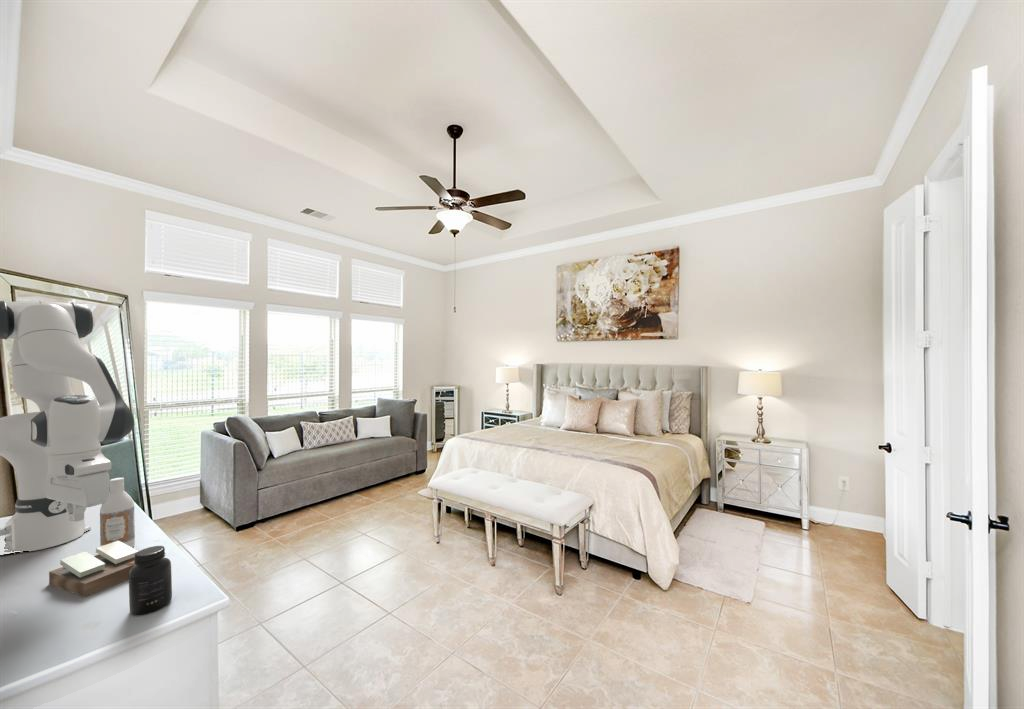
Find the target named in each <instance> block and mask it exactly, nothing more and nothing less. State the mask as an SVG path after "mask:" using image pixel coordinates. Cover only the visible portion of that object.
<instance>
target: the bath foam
mask: <svg viewBox="0 0 1024 709" xmlns="http://www.w3.org/2000/svg"><path fill="white" fill-rule="evenodd" d="M100 505H101V506H100V510H99V534H100V538H99V539H100V541H99V543H100V546H103V545H106V544H109V543H112V542H115V541H120V542H122V543H124V544H126V545H128V546H130V547H131V548H134V546H135V545H136V543H135V542H136V537H135V536H136V534H135V531H136V530H135V528H136V526H135V502H134V499H133V497H132V496H131V495H130V494H129V493H128V492H127V491H125V477H115V478H111V479H109V496H108V499H107V501H106V503H104V504H100Z"/></svg>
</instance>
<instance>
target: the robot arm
mask: <svg viewBox="0 0 1024 709" xmlns="http://www.w3.org/2000/svg"><path fill="white" fill-rule="evenodd" d="M95 324H96V318H95V316H94V313H93V311H92V309H91V308H90V307H89V306H87V305H85V304H83V303H82V304H81V303H77V302H76V303H75V302H70V303H68V302H60V301H50V300H39V301H38V300H37V301H32V300H28V301H27V300H25V301H24V300H23V301H22V300H21V301H5V300H0V340H8V339H12V340H13V341H12V347H11V359H10V361H11V374H12V384H13V390H14V392H15V394H16V395H17V396H19V397H20V398H23V399H27V400H30V401H32V402H33V403H35V405H36V406H37V408H38V409H39V411H35V412H24V413H15V414H11V415H5V416H2V417H0V456H1V457H2V458H4V459H5V460H7V462H8V463H10V465H11V466H12V467H13V469H14V471H15V474H16V479H17V488H18V490H17V491H18V498H17V499H16V502H15V504H14V514H13V515H12V516H11V517H10V518H9V519H8V521H6V522H5V524H4V525H5V526H3V527H0V537H3V536H4V537H5V538H4V537H3V538H4V541H5V543H6V544H5V547H4V549H8V550H5V551H4V552H11V551H12V552H14V551H22V552H21V553H24V552H23V551H29V552H33V551H40V550H45V549H49V548H52V547H53V548H54V547H56V546H59V545H62V544H65V543H68V542H71V541H74V540H76V539H79V537H82V536H83V535H84V534H85V533H87V532H88V530H89V531H91V530H92V527H91V525H86V520H85V512H86V509H87V508H91V507H96V506H100V505H102V504H104V503H106V501H107V499H108V496H109V493H110V474H109V472H108V471H110V470H112V461H111V460H109V459H108V458H107V457H106V456H105V455H104V454H103V452H102V445H101V442H102V443H103V442H104V443H105V442H106V443H107V442H116V441H117V442H118V441H120V440H122V439H124V438H125V437H126V436H128V435H129V434H130V433H131V432H132V431H133V430H134V427H135V418H134V414H133V412H132V411H131V408H130V407H129V405H127V403H126V402H125V400H124V399H123V397H122V395H121V393H120V391H119V389H118V388H117V385H116V383H115V382H114V381H115V380H114V379H113V377H112V375H111V374H110V372H109V370H108V368H107V366H106V364H105V362H104V361H103V360H102V359H101V357H100V356H98V355H95V354H94V353H91V352H89V350H88V349H86V347H84V345H83V344H82V343H81V342H80V339H82V338H85V337H88V335H90V334H91V333H92V332H93V329H94V327H95ZM70 378H73V379H77V380H79V381H81V382H84V383H86V384H87V385H88V386H89V387H90V389H91V391H92V392H93V393H92V394H94V396H91V395H85V394H84V395H82V394H75V393H74V391H73V389H72V386H71V381H70ZM90 529H91V530H90ZM86 531H87V532H86ZM84 532H85V533H84ZM2 540H3V539H2Z"/></svg>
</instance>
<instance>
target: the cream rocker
mask: <svg viewBox="0 0 1024 709" xmlns="http://www.w3.org/2000/svg"><path fill="white" fill-rule="evenodd" d="M138 551H139V550H137V549H135V548H134V547H132V548H131V547H130V546H128V545H126V544H124V543H122V542H120V541H115V542H112V543H109V544H106V545H103V546H101V545H100V546H98V547H96V548H95V553H96V554H97V555H101V556H103V557H104V558H106V559H108V560H110V561H111V562H113V563H115V564H117V563H120V562H123V561H125V560H128V559H131V558H133V557H135V554H136V553H137V552H138Z"/></svg>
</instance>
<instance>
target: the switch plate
mask: <svg viewBox="0 0 1024 709" xmlns="http://www.w3.org/2000/svg"><path fill="white" fill-rule="evenodd" d="M93 556H94V557H96V558H97V559H99V560H100V561H102V562H104V563H105V569H102V570H99V571H97V572H94V573H91V574H89V575H86V576H83V577H81V578H80V577H78V576H77V575H75V574H74V573H72V572H71V571H69V570H68V569H66V568H65V567H63V566H61V567H58V568H56V569H53V570H50V571H48V576H49V579H48V581H49V582H48V583H49V585H51V586H53V587H56V588H59V589H60V590H64V591H66V592H69V593H72V592H73V593H72V594H75V595H77V594H78V596H80V597H84V598H86V596H87V597H89V596H91V594H92V595H94V594H96V593H98V592H102V591H104V590H106V589H109V588H111V587H114V586H116V585H118V584H120V583H123V582H125V581H127V580H128V581H129V572H130V570H131V569H132V568H133V567H134V566H135V564H134V561H135V557H133V558H131V559H128V560H125V561H123V562H120V563H117V564H115V563H113V562H111V561H110V560H108V559H106V558H104V557H103V556H101V555H99V554H97V555H93Z"/></svg>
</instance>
